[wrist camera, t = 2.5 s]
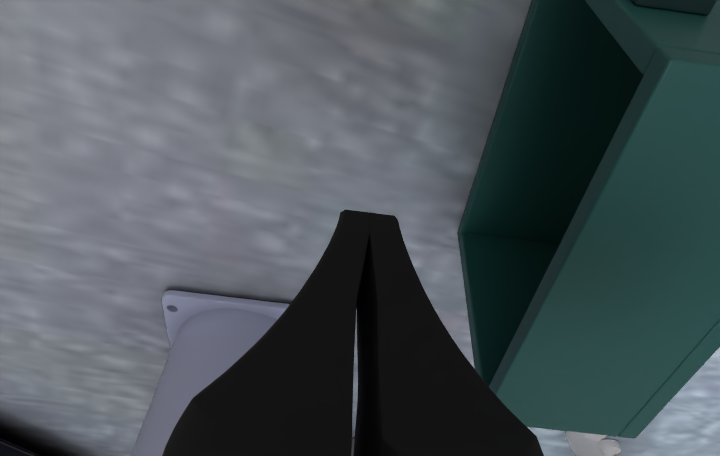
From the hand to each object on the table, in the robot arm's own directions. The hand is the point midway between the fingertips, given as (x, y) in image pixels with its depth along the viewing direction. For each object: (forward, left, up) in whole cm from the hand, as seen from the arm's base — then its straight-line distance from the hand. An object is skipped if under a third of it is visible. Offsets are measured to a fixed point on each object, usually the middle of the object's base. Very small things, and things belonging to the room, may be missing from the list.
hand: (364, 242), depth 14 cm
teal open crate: (0, -7, -8) cm, 11 cm away
